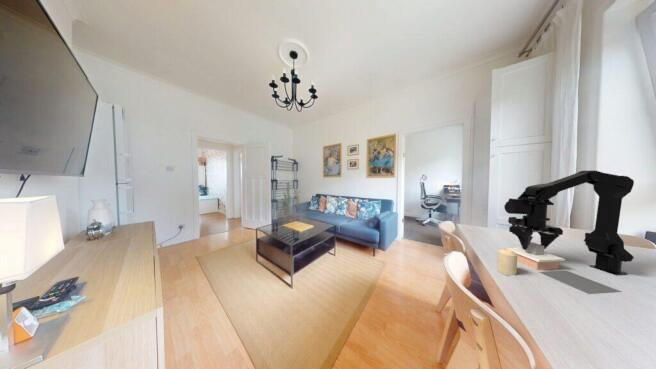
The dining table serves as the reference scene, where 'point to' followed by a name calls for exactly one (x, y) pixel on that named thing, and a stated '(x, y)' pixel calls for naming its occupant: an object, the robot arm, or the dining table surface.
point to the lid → (536, 253)
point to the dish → (537, 263)
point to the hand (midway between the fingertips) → (533, 249)
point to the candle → (507, 262)
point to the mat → (579, 282)
